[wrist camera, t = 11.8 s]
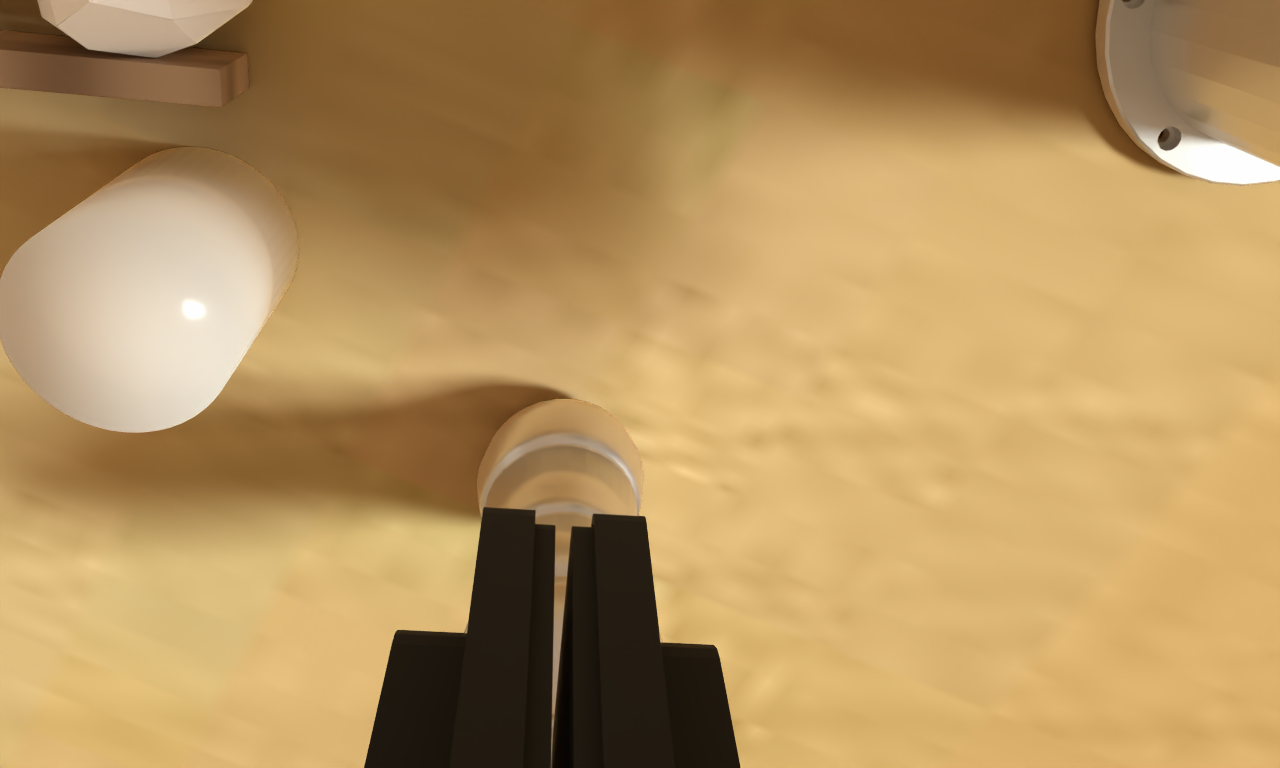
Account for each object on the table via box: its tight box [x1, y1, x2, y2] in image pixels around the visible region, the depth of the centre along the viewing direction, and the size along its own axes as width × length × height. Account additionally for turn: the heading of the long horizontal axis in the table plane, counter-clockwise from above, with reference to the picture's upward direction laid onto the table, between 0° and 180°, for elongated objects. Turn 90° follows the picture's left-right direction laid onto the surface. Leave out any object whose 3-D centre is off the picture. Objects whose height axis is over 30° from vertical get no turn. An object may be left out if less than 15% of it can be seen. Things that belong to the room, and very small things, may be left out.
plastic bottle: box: [464, 399, 663, 759], centre depth 38 cm, size 6×7×20 cm
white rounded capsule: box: [0, 147, 299, 433], centre depth 39 cm, size 7×7×9 cm
